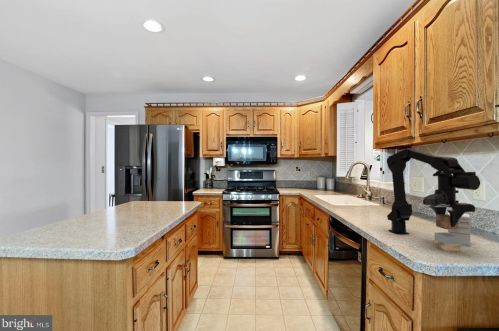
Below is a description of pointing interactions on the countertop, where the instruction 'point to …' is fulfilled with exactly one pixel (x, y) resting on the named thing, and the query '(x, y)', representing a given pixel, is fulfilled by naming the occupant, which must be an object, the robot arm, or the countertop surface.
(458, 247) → the tower base
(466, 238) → the supplement box
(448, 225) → the walnut cube
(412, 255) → the countertop surface
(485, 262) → the countertop surface
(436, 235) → the tower mid
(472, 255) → the countertop surface
